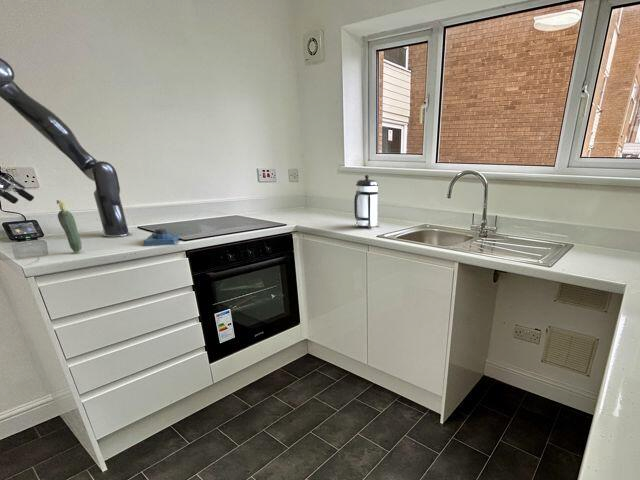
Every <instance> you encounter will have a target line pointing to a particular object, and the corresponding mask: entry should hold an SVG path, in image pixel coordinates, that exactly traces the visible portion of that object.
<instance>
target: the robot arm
mask: <svg viewBox="0 0 640 480" xmlns="http://www.w3.org/2000/svg"><path fill="white" fill-rule="evenodd" d="M15 77H16V76H15V71H14V69H13V67H12V66H11V64H9V63H8V61H6V60H4V59H3V58H2V57H0V98H1V99H2V100H3V101H5V102H6V103H7V104H8V105H9V106H10V107H12V108H13V110H15V111H16V112H17V113H18V114H19V116H21V117H22V118H23V119H24V120H25V121H26V122H28V123H29V124H30V125H31V127H32V128H34V129H35V130H36V131H37V132H38V133H39V134H40V135H41V136H42V137H44V139H46V140H47V141H48V142H50V143H51V144H52V145H53V146H54V147H56V148H57V149H58V150H59V151H60V152H61V153H62V154H64V155H65V156H66V157H67V158H68V159H69V160H70V161H71V162H72V163H73V164H74V165H75V166H76V167H77V168H78V169H79V170H80V171H81V172H82V174H83V175H84V176H85V177H87V178H88V179H89V180H90V181H93V182H94V184H95V190H94V191H93V197H94V201H95V204H96V208H97V211H98V215H99V219H100V222H101V226H102V232H103V234H104V236H105V237H107V238H119V237H124V236H130V231H129V227H128V224H127V220H126V219H127V218H126V215H125V212H124V208H123V203H122V199H121V195H120V194H121V188H120V187H121V186H120V181H119V177H118V173H117V170H116V169H115V167H114V166H113V165H112V164H111V163H110V162H108V161H104V160H103V161H102V160H97V159H96V158H95V157H93V156H92V155H91V154H90V153H89V152H88V151H86V150H85V148H84V147H83V146H82V145H81V143H80V142H79V140H78V139H77V137H76V135H75V133H74V132H73V130H71V128H70V127H69V125H67V124H66V123H65V122H64V121H63V119H61V118H60V117H59V116H58V115H56V113H54V112H53V111H52V110H50V109H49V108H47V107H46V106H45V105H43V104H42V103H40V102H39V101H37V100H35V99H34V98H33V97H31V96H30V95H29V94H27V93H26V92H25V91H24V90H23V89H21V87H20V86H18V84H17V83H16V82H15V81H14V80H15ZM25 188H26V186H25V185H23V184H21V183H20V182H18V181H17V180H15V179H14V178H12V177H10V176H9V175H7V174H5V175H4V176H1V175H0V197H1V198H3V199H5V200H6V201H8V202H9V203H11V204H13V205H15V204H17V203H18V201H19V198H18V197H16V196H14V195H13V194H12V193H11V192H13V193H15V194H18V195H19V196H20V197H22V198H23V199H25V200H27V201H28V202H32V201H33V200H34V198H35V196H34V195H33V194H31V193H30V192H28V191H27V190H25Z"/></svg>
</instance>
